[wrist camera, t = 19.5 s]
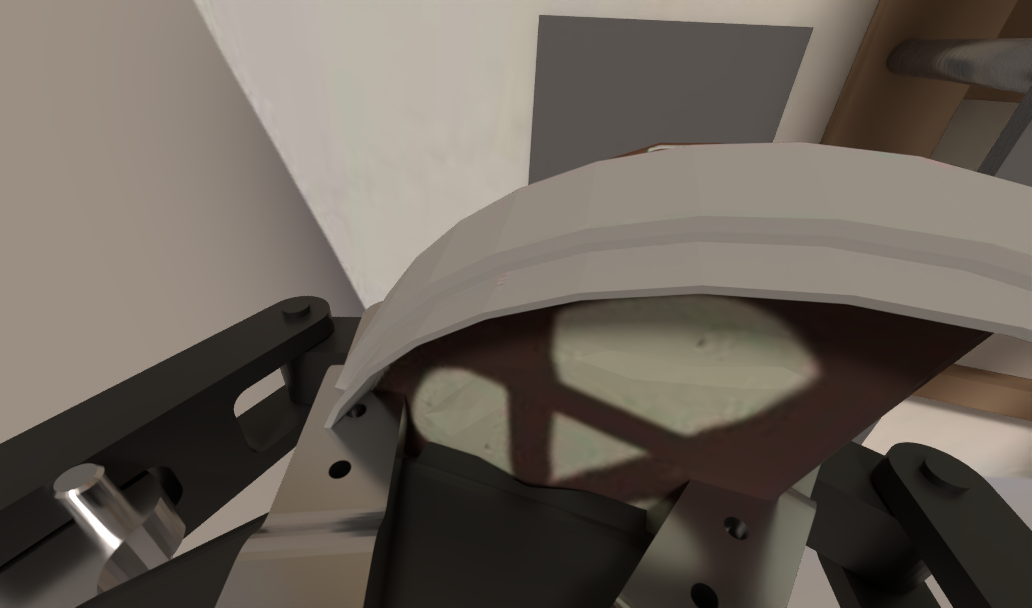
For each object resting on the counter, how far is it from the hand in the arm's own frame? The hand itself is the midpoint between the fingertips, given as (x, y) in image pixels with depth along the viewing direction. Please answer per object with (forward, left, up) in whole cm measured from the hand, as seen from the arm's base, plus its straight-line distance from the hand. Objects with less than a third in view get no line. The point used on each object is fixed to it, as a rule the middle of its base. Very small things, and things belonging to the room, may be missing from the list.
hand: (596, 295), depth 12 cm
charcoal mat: (0, 0, -18) cm, 18 cm away
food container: (+1, 0, -3) cm, 3 cm away
